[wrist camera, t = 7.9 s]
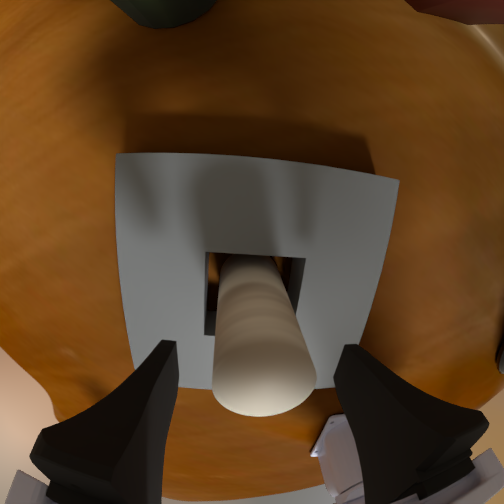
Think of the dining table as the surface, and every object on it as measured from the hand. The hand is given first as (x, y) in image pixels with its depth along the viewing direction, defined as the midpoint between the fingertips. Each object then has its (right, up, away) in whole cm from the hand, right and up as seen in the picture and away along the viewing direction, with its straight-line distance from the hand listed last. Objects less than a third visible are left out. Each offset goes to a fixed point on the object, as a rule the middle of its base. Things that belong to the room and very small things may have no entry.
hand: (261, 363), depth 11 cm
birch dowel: (-1, +3, +8) cm, 9 cm away
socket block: (-1, +3, +8) cm, 8 cm away
